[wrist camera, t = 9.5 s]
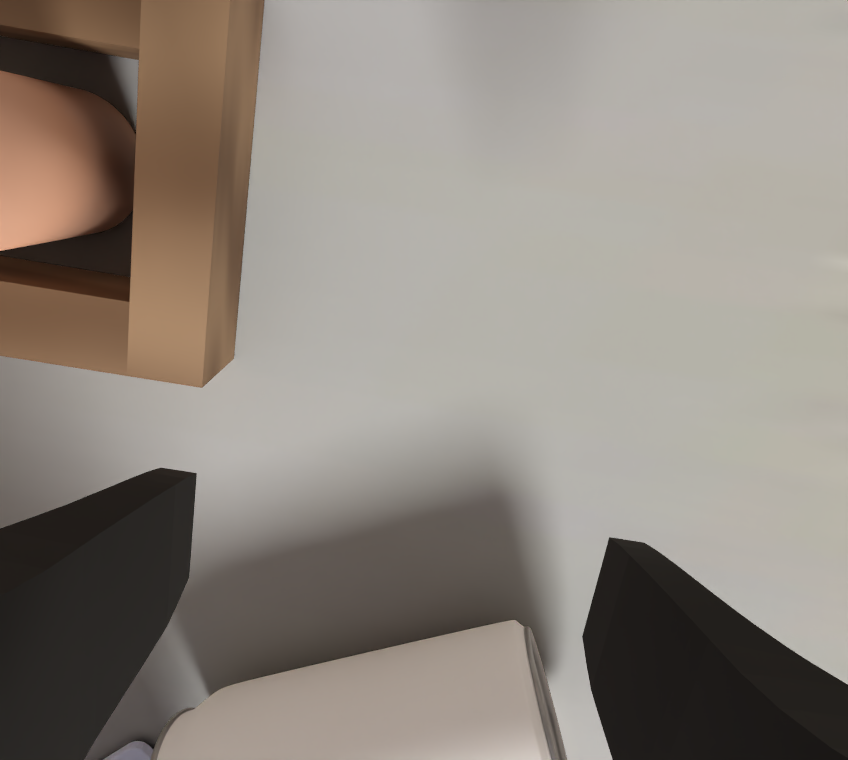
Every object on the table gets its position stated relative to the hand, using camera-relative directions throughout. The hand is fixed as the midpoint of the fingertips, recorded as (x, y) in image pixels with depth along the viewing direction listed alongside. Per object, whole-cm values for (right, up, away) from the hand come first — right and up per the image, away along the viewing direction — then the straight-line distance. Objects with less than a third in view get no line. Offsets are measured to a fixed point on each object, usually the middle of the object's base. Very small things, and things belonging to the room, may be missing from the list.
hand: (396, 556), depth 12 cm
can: (+5, -7, +9) cm, 13 cm away
